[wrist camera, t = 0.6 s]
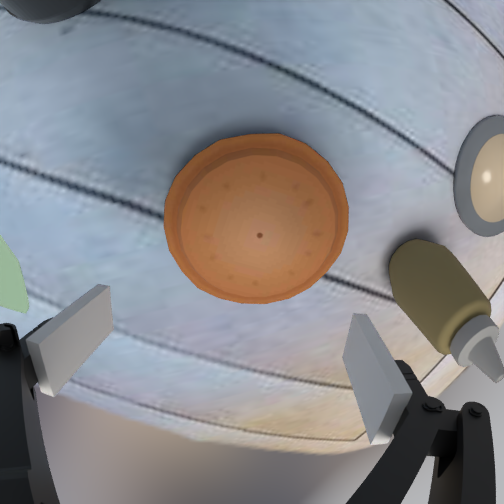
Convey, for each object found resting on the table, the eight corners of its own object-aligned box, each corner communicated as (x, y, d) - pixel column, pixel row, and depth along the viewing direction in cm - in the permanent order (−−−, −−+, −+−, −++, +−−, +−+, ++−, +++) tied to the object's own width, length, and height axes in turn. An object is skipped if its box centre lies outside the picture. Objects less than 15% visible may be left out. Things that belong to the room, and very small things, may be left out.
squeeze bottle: (444, 227, 31) (549, 326, 15) (430, 286, 34) (508, 394, 18) (384, 230, 30) (487, 353, 14) (374, 294, 34) (443, 422, 18)
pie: (359, 237, 31) (378, 262, 26) (228, 305, 34) (228, 337, 29) (289, 96, 24) (302, 97, 20) (139, 188, 27) (122, 207, 23)
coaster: (467, 97, 23) (472, 98, 23) (537, 136, 25) (542, 138, 24) (438, 227, 30) (442, 231, 30) (510, 238, 32) (514, 241, 31)
